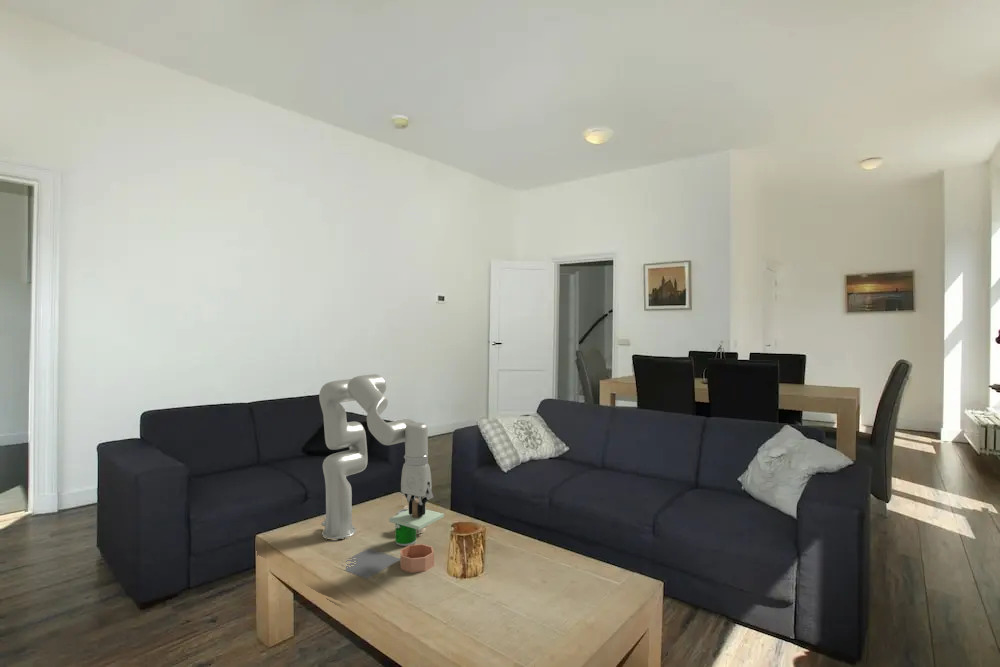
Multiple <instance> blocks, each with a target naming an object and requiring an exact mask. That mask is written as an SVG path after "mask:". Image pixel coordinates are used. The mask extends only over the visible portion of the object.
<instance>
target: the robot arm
mask: <svg viewBox="0 0 1000 667" xmlns="http://www.w3.org/2000/svg"><path fill="white" fill-rule="evenodd" d="M386 390H387V384H386V381H385V379H384V378H383V376H381V375H380V374H376V373H375V374H366V375H364V374H363V375H357V376H355V377H353V378H350V379H339V380H333V381H329V382H328V381H327V383H325V384H323V385H322V386H321V388H320V390H319V393H318V394H319V395H318V397H319V398H318V399H319V404H320V408H321V412H322V415H323V429H324V430H323V432H324V441H325V445H326V447H327V448H328V449H329V450H331V451H332V450H333V451H334V450H341V449H345V448H349V449H348V450H343V451H339V452H336V453H332V454H329V455H328V456H326V457H325V458H324V459H323V461H322V471H323V475H324V476H323V477H324V483H325V519H324V520H323V521H322V522H321V524H320V525H321V526H322V527H324V530H323V531H322V532H321V536H322V535H323V536H324V537H326V538H330V539H342V538H346V537H349V538H350V536H351V537H353V536H354V535H353V534H354V533H355V532H356V533H357V529H356V527H355V526H354V525H353V520H352V519H353V515H352V514H353V513H352V512H353V510H352V509H353V508H352V506H353V505H352V503H353V502H352V497H353V494H352V490H353V489H352V486H351V483H350V482H349V481H348V479H347V477H349V476H351V475H352V476H353V475H355V474H358V473H361V472H364V470H366V468H367V465H368V460H369V459H368V445H367V444H368V443H367V435H366V430H365V427H364V426H363V424H362V423H361V422H359V421H348V420H347V412H346V409H345V408H344V406H343V405H342V404H341V403H345V402H346V403H347V402H352V401H356V403H358V405H359V406H360V407H361V408H362V409H363V410H364V411H365V412H366V423H367V428H368V431H369V432H370V433H371V435H372V436H373V437H374V438H375V440H377V441H378V442H379V443H380V444H381V445H384V446H392V445H395V444H396V445H397V444H400V443H404V447H405V450H404V451H405V452H404V455H403V458H404V459H405V460H404V463H403V466H402V470H401V480H400V492H401V493H402V494H403V495H404V498H405V499H406V501H407V503H408V505H409V514H410V515H411V514H412V501H414V500H416V497H418V500H419V505H418V517H420V516H423V515H425V507H426V504H427V503H428V501H429V500H431V499H432V498H434V495H433V491H432V487H433V486H432V473H431V472H432V471H431V467H430V464H429V434H428V432H429V429H428V428H429V426H428V425H427V424H426V423H425V422H420V421H419V422H417V421H415V420H413V419H409V418H408V419H407V418H406V419H400V420H399V419H398V420H394V421H389V422H387V421H385V420H384V419H383V418H382V417H381V415H382V414H383V412H385V410H386V409H387V407H388V403H389V401H388V398H387V396H386V395H384V394H385V392H386ZM356 533H355V534H356ZM352 535H353V536H352ZM346 539H347V538H346Z"/></svg>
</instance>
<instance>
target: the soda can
mask: <svg viewBox="0 0 1000 667" xmlns="http://www.w3.org/2000/svg"><path fill="white" fill-rule="evenodd" d="M407 510H409V509H404V510H403V509H401V510H398V511H397V513H395V516H396V515H398V514H400V513H403V512H405V511H407ZM394 524H395V529H394V530H395V544H396V545H398V546H400V547H407V546H409V545H415V543H416V542H417V535H416V529H414V528H411V527H407V526H403V525H400V524H396V523H394Z"/></svg>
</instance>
